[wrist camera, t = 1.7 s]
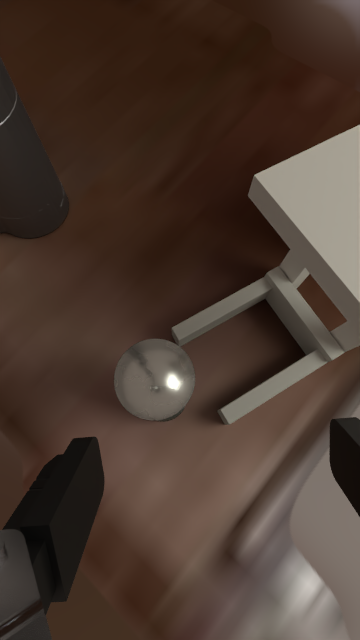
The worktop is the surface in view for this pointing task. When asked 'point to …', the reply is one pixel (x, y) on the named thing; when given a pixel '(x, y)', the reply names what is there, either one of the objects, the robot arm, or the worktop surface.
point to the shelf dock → (302, 261)
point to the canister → (154, 380)
